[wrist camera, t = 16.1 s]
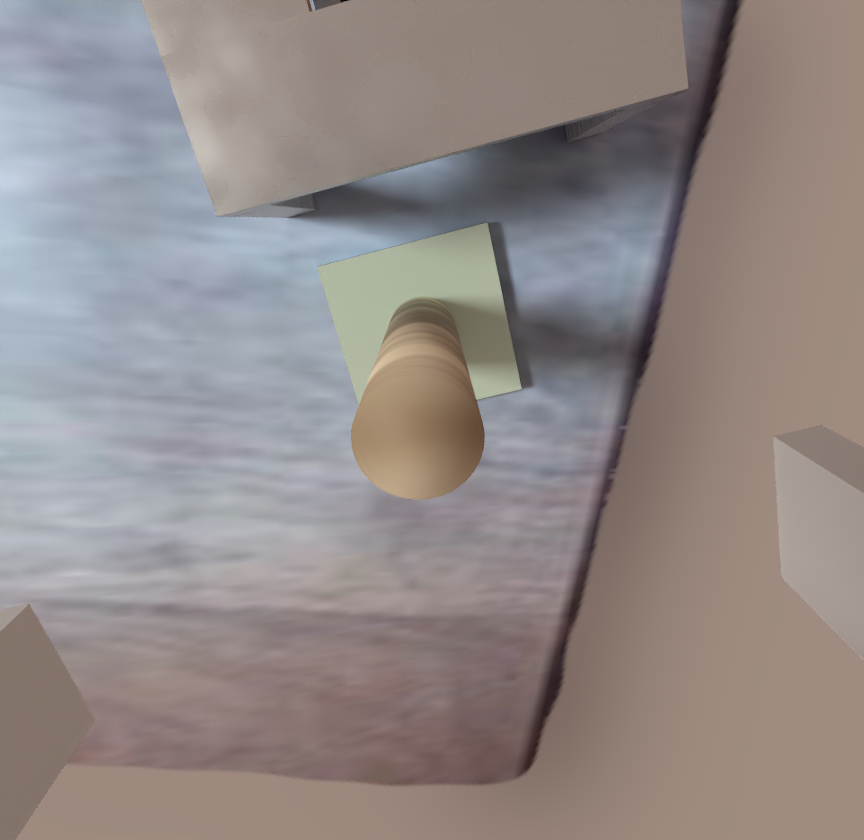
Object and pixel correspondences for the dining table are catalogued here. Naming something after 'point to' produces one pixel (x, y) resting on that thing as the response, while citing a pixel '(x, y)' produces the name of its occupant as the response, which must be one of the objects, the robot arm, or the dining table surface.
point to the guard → (397, 83)
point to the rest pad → (434, 278)
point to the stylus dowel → (419, 407)
